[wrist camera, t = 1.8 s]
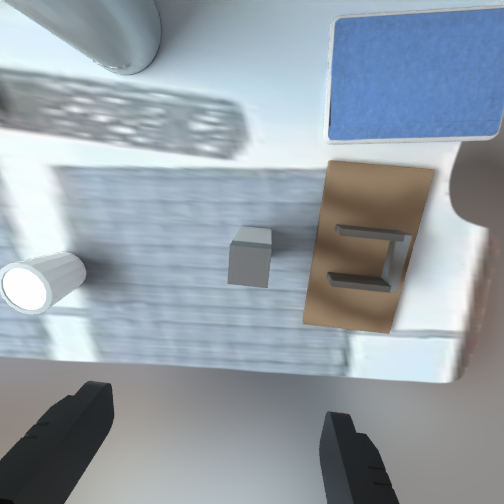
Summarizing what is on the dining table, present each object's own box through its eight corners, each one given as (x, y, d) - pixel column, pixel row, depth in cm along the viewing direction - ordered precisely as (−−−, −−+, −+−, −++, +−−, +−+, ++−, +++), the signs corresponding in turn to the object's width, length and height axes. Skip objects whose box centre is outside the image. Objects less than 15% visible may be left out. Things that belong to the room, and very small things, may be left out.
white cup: (99, 273, 37) (62, 294, 31) (71, 299, 39) (30, 325, 32) (63, 237, 36) (16, 251, 29) (36, 266, 38) (-15, 285, 31)
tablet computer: (321, 145, 31) (324, 144, 30) (328, 19, 27) (331, 12, 26) (490, 141, 30) (499, 139, 28) (520, 8, 26) (532, 0, 25)
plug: (241, 226, 34) (229, 245, 24) (271, 229, 34) (271, 249, 24) (239, 254, 35) (227, 283, 25) (268, 257, 35) (267, 288, 25)
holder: (328, 161, 31) (336, 158, 27) (429, 169, 30) (452, 168, 27) (302, 320, 37) (306, 336, 33) (385, 329, 37) (399, 347, 33)
